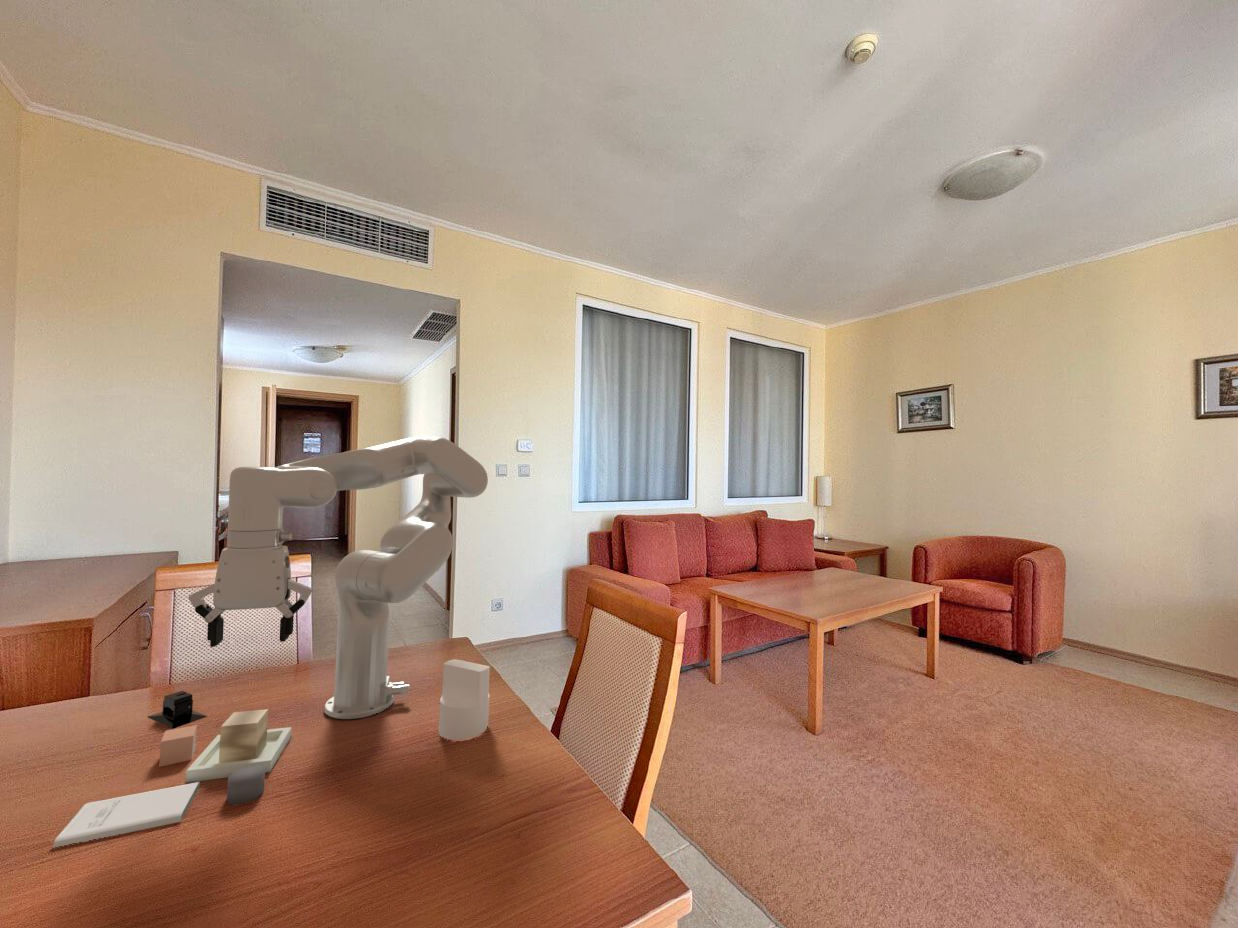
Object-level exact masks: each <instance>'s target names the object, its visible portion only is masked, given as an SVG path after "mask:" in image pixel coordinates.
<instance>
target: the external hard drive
mask: <svg viewBox="0 0 1238 928" xmlns="http://www.w3.org/2000/svg"><path fill="white" fill-rule="evenodd" d="M200 783H201V781H195V782H190V783H185V784H181V785H176V786H171V787H165V788H160V789H155V790H150V791H144V792H140V793H133V794H127V795H123V796H118V797H113V798H109V799H108V798H107V799H103V800H97V801H96V800H95V801H91V802H86V803H85V804H84V805H82V807H81V808H80V810H79V811H77V812H76V814H75V816H74V817H72V819H71V820H69V822H68V823H67V825H66V826H65V827H64V828H62V831H61V832H60V833H59V834H58V835H57V836H56V838H55V839H54V841H53V847H52V848H53V849H55V848H54V847H58V846H63V847H65V846H64V845H67V846H69V845H68V844H72V843H77V844H80V843H79V842H82V843H86V842H90V841H89V840H91V841H94V840H93V839H96V840H100V839H99V838H101V839H105V838H104V837H106V838H109V836H110V837H114V836H120V835H124V834H128V833H134V832H138V831H142V830H147V829H152V828H157V827H162V826H166V825H167V826H168V825H172V824H175V823H181V822H182V821H183V819H184V817H185V815H186V813H187V811H188V809H189V808H190V805H191V804H192V801H193V800H194V798H195V796H196V795H197V793H198V791H199V790H200ZM119 834H120V835H119ZM72 845H73V844H72ZM58 848H59V847H58Z"/></svg>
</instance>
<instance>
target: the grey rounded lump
mask: <svg viewBox="0 0 1238 928" xmlns="http://www.w3.org/2000/svg"><path fill="white" fill-rule="evenodd" d="M265 777H266V772H265V768H264V767H261V766H251V767H246V768H243V769H240V770H238V771H236V772H234V773H233V774H231V775H230V776H229V777H227V790H226V791H227V793H226V802H227V804H229V805H243V804H246V803H250V802H252V801H254V800H256V799H258V798H259V797H261V796H262V795H263V793H264V792H265V780H266V779H265Z"/></svg>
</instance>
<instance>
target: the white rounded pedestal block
mask: <svg viewBox="0 0 1238 928" xmlns="http://www.w3.org/2000/svg"><path fill="white" fill-rule="evenodd" d="M442 669H443V671H442V673H443V674H442V688H441V689H442V691H441V692H442V693H441V697H440V699H439V701H440V702H439V717H438V718H439V719H438V721H439V722H438V735H439V734H440V735H439V736H441V738H442V737H444V738H447V739H452V740H460V739H467V738H470V737H475V736H477V735H479V734H481V733H482V732H484V730H485V729H486V728H487V726H488V727H489V716H490V698H491V697H490V692H489V691H490V676H491V675H490V671H491V670H490V669H491V666H489V665H485V664H480V663H476V662H470V661H466V660H462V659H461V660H460V659H456V658H452V659H451V660H447V661H446V662H444V663H443V668H442Z"/></svg>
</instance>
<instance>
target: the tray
mask: <svg viewBox="0 0 1238 928" xmlns="http://www.w3.org/2000/svg"><path fill="white" fill-rule="evenodd" d="M292 728H293V727H292V726H290V727H279V728H270V729H268V728H267V742H266V746H265V747H264V749H263V750H262V752H261V753H260V754H259V756H258V757H257V759H252V760H243V761H235V762H227V763H219V750H220V734H217V735H216V736H215V737H214V739H213V740H212V741H211V742H210V743H209V744H208V746H207V747H206V748H205V749H204V750H203V751H202V752H201V753H200V754H199V755H198V757H197V758H196V759H195V761H193V762H192V763H191V765H190V766H189V767H188V768H187V769H186V771H185V784H189V783H196V782H203V781H210V780H217V779H224V778H229V776H230V775H231V774H233V773H234V772H236V771H238V770H240V769H243V768H246V767H251V766H261V767H264V768H265V773H271V771H272V770H273V768H274V766H275V765H276V763H277V762H278V760H279V758H280V756H281V755H282V753H283V751H284V750H285V748H286V746H287V745H288V743H289V742H290V740H291V738H292V731H293V729H292Z"/></svg>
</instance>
